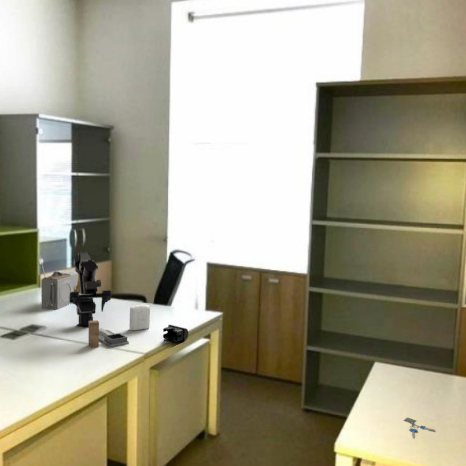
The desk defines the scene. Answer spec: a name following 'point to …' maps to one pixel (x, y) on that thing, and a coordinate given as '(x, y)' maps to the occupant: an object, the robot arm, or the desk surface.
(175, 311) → the desk surface
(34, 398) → the desk surface
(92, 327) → the brown tall block
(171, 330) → the end cap
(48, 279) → the portable television
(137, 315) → the photo printer
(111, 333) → the rail
